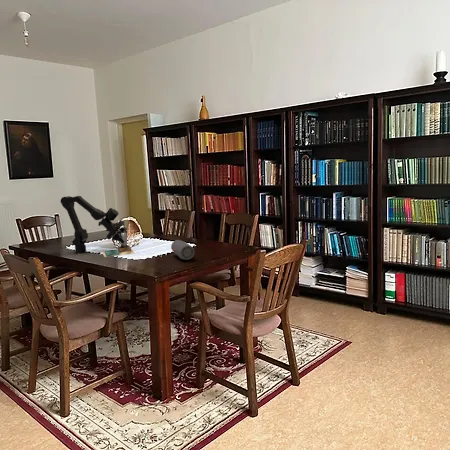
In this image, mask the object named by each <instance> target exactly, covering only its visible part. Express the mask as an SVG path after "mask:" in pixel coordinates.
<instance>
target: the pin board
mask: <svg viewBox="0 0 450 450" xmlns="http://www.w3.org/2000/svg"><path fill="white" fill-rule="evenodd" d="M101 253H102V255H103V257H104V258H108V257H109V258H110V257H117V256H125V255H133V254H136V252H135V251H134V250H133V249H132V247H131V245H128V248H121V246H117V248H116V249H108V250H105V251H101Z"/></svg>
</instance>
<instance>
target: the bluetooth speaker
mask: <svg viewBox="0 0 450 450" xmlns="http://www.w3.org/2000/svg"><path fill="white" fill-rule="evenodd" d="M170 247H171V248H170V249H171V250H172V252H173V253H174V254H175V255H176V256H177V257H179V259H180V260H182V261H184V260H185V261H187V260H190V259H192V258H193V257H194V255H195V249H194V248H193V246H191V244H189V243H187V242H185V241H183V240H181V239H176V240H174V241H173V242H172V243H171V246H170Z"/></svg>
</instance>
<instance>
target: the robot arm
mask: <svg viewBox="0 0 450 450" xmlns="http://www.w3.org/2000/svg"><path fill="white" fill-rule="evenodd" d="M59 202H60V204H61V205H62V207H63V208H64V209H65V210H66V213H67V214H68V217H69V220H70V222H71V224H72V227H73V229H74V233H73V235H74V239H73V240H72V241H71V243H72V245H74V250H75V251H74V252H75V254H83V253H84V254H85V253H86V252H87V246H86V243H87V240H88V239H89V233H88V231H87V229H86V228H83V227H82V225H81V222H80V219H79V217H78V214H77V212H76V209H75V203H77V204H78V205H79V206H80V207H82V208H83V209H84V210H86V211H87V212H88V213H89V214H90V216H91V217H92V219H93V220H94V221H98V224H97V226H98V227H101V226H103V227H104V228H105V229H106V230H105V231H106V232H108V233H107V234H106V236H105V237H106V239H107V240H112V241H116V242H119V243H120V242H122V243H124V240H123V239H122V238H121V237H120V233H123V232H125V231H126V230H127V228H126V227H125V226H126V225H125V221H124V220H122V219H121V220H119V221H118V222H116V223H115V222H113V221H114V220H115V219H116V218H117V217H118V216H119V211H118V210H116V209H114V208H113V207H110V208H109V209H108V210H107V211H106V212H105V211H103V210H101V209H99V208H96V207H95V206H93V205H92V204H91V203H90V202H88V201H87V200H86V199H84V198H83V196H81V195H76V196H75V195H74V196H69V195H67V196H62V197H61V199H60V201H59ZM127 241H128V240H127Z"/></svg>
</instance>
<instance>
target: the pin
mask: <svg viewBox="0 0 450 450" xmlns="http://www.w3.org/2000/svg"><path fill="white" fill-rule="evenodd" d="M120 237H121V238H122V239H123V240H124V243H122V242H119V243H120V247H121V248H128V246H129V245H127V233H126V232H123V233H120Z"/></svg>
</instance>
